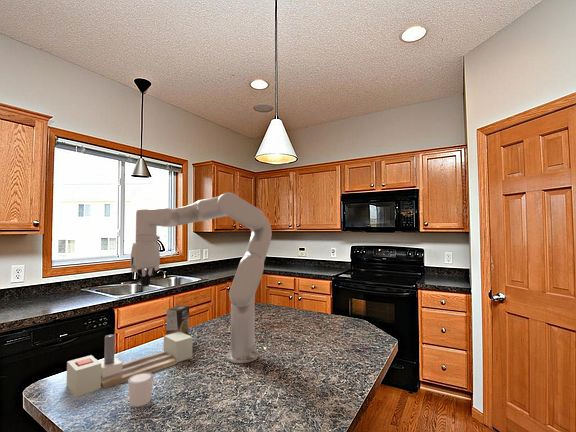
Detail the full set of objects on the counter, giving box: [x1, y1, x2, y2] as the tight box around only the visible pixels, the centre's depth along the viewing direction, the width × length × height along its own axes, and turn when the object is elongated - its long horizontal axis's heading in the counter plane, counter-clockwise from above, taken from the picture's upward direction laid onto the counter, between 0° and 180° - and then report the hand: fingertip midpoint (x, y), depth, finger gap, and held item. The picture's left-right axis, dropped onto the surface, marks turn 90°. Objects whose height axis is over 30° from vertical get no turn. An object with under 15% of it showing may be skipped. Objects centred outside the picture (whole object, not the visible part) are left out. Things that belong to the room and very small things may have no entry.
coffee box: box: [165, 305, 190, 336], centre depth 140 cm, size 9×6×16 cm
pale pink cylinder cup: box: [127, 373, 154, 408], centre depth 93 cm, size 7×7×7 cm
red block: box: [76, 358, 92, 367], centre depth 101 cm, size 4×4×4 cm
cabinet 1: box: [66, 354, 102, 398], centre depth 101 cm, size 10×7×8 cm
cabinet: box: [163, 332, 194, 364], centre depth 126 cm, size 10×7×8 cm
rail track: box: [101, 350, 177, 390], centre depth 113 cm, size 12×25×2 cm, turn 138°
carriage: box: [98, 334, 123, 378], centre depth 107 cm, size 7×6×12 cm
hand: (145, 285), depth 123 cm, fingers closed
